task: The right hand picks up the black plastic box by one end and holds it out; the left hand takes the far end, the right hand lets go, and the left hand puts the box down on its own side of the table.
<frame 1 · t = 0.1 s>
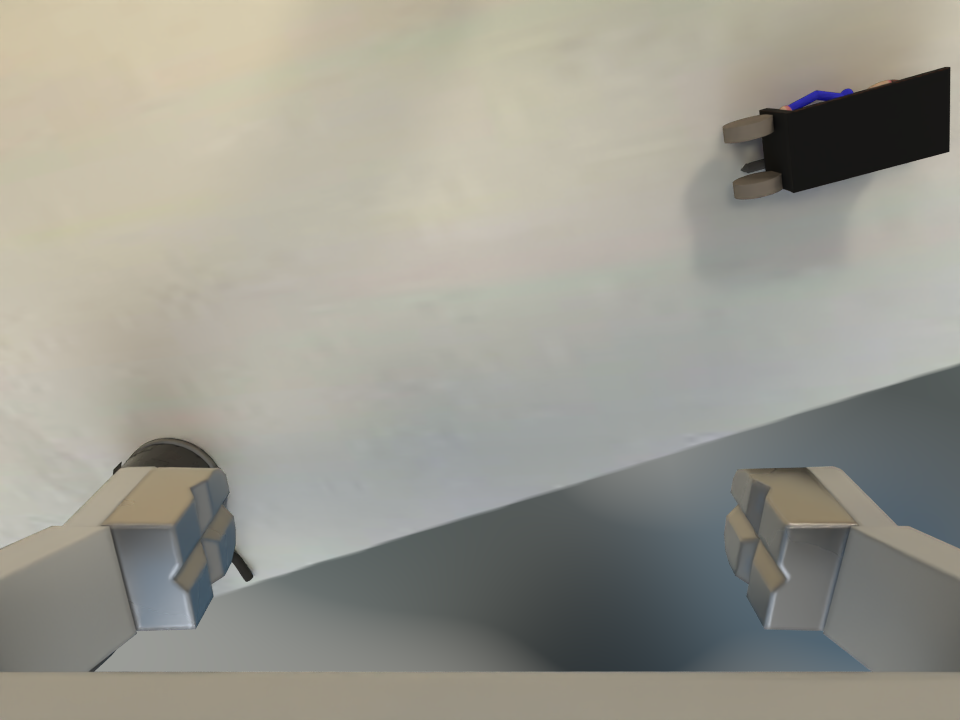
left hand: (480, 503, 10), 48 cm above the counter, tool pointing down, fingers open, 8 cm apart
figurine character: (803, 133, 54), on the counter
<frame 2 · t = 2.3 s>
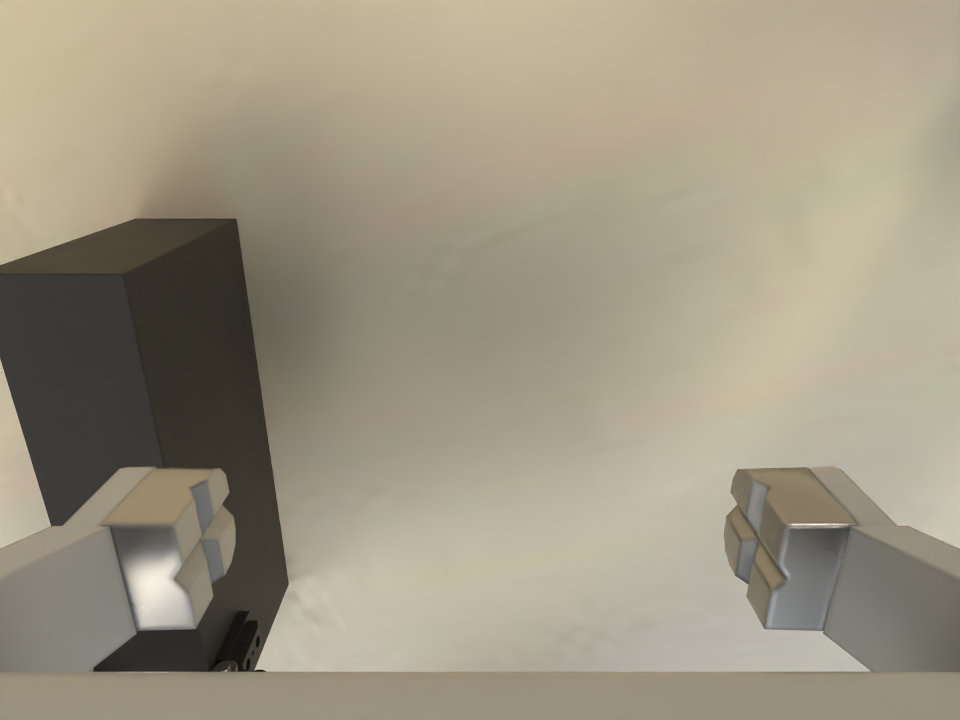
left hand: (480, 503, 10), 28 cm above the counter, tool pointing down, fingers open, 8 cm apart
box: (220, 423, 41), on the counter, touching right hand
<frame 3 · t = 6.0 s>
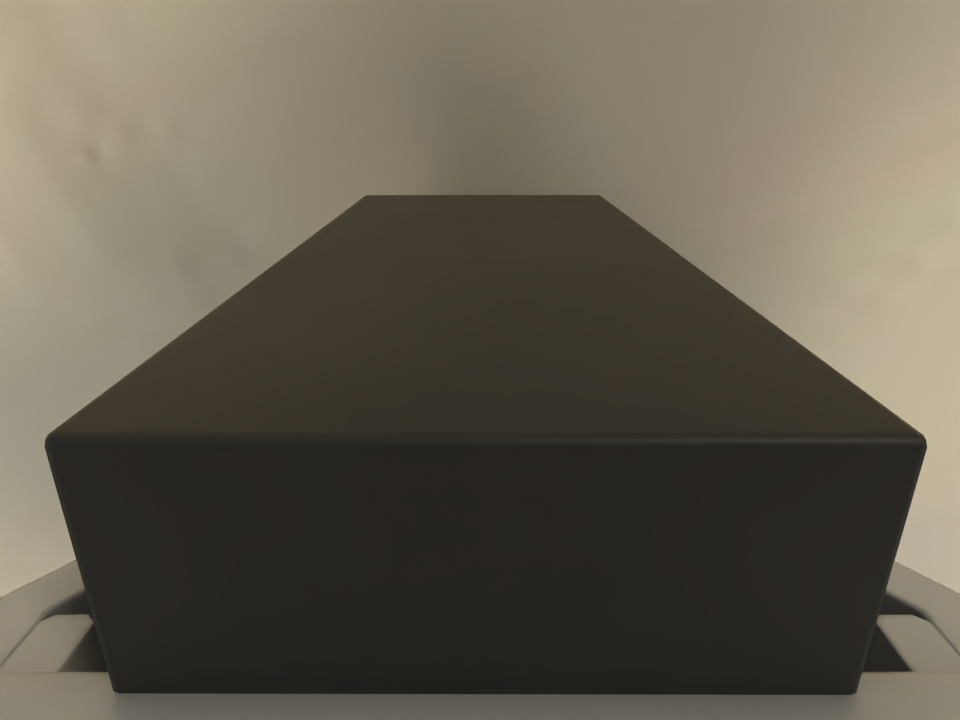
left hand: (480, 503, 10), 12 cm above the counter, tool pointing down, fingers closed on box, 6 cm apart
box: (482, 613, 20), point 4 cm above the counter, touching left hand, right hand
when the right hand's fingers open (13 cm above the counter, at t = 7.4 s): box moves 2 cm, held by the left hand.
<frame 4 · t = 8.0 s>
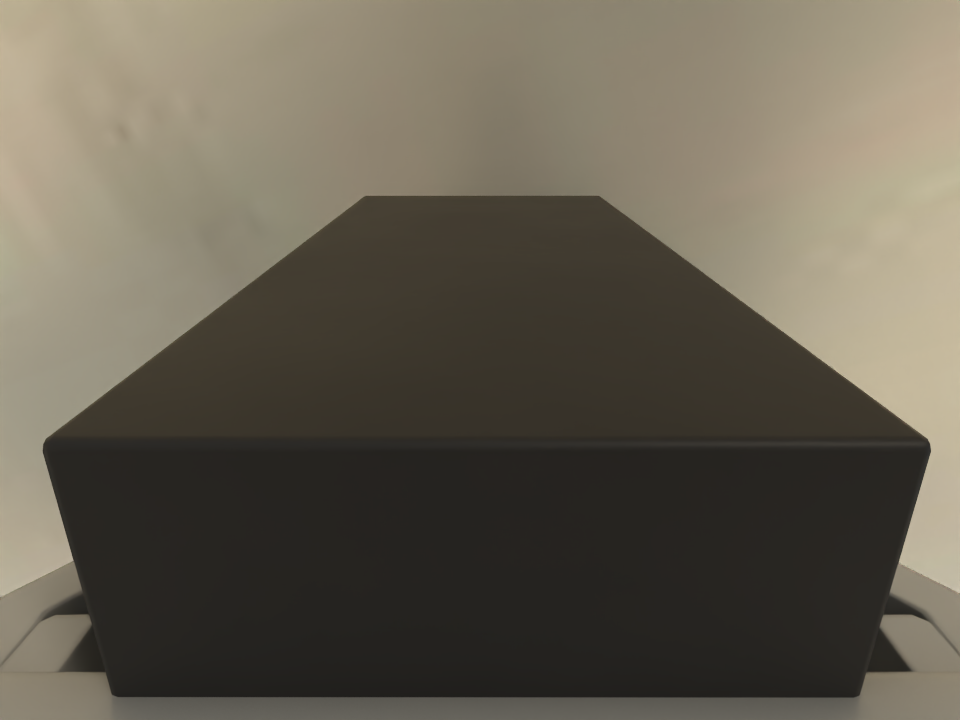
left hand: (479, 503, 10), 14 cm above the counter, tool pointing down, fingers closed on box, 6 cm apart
box: (481, 614, 20), point 7 cm above the counter, touching left hand
when the left hand's fingers open (8 cm above the counter, at t = 10.9 s): box stays where it is, on the counter.
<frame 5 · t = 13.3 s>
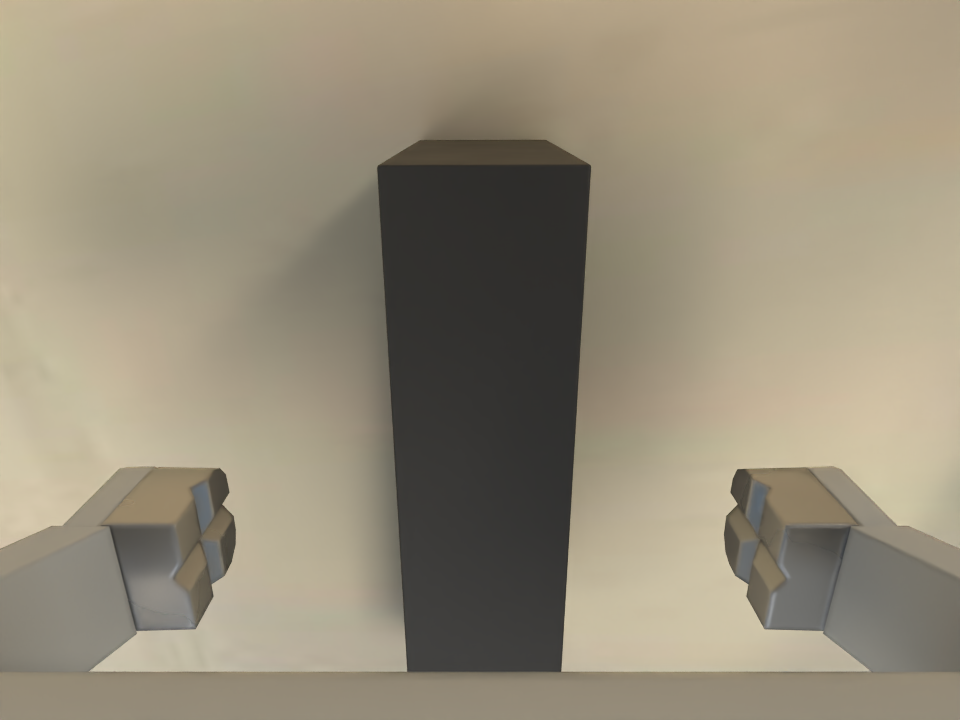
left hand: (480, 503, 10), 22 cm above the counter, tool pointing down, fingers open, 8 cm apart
box: (483, 402, 34), on the counter
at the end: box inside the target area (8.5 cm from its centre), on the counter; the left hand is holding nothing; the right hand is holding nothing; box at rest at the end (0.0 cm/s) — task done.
